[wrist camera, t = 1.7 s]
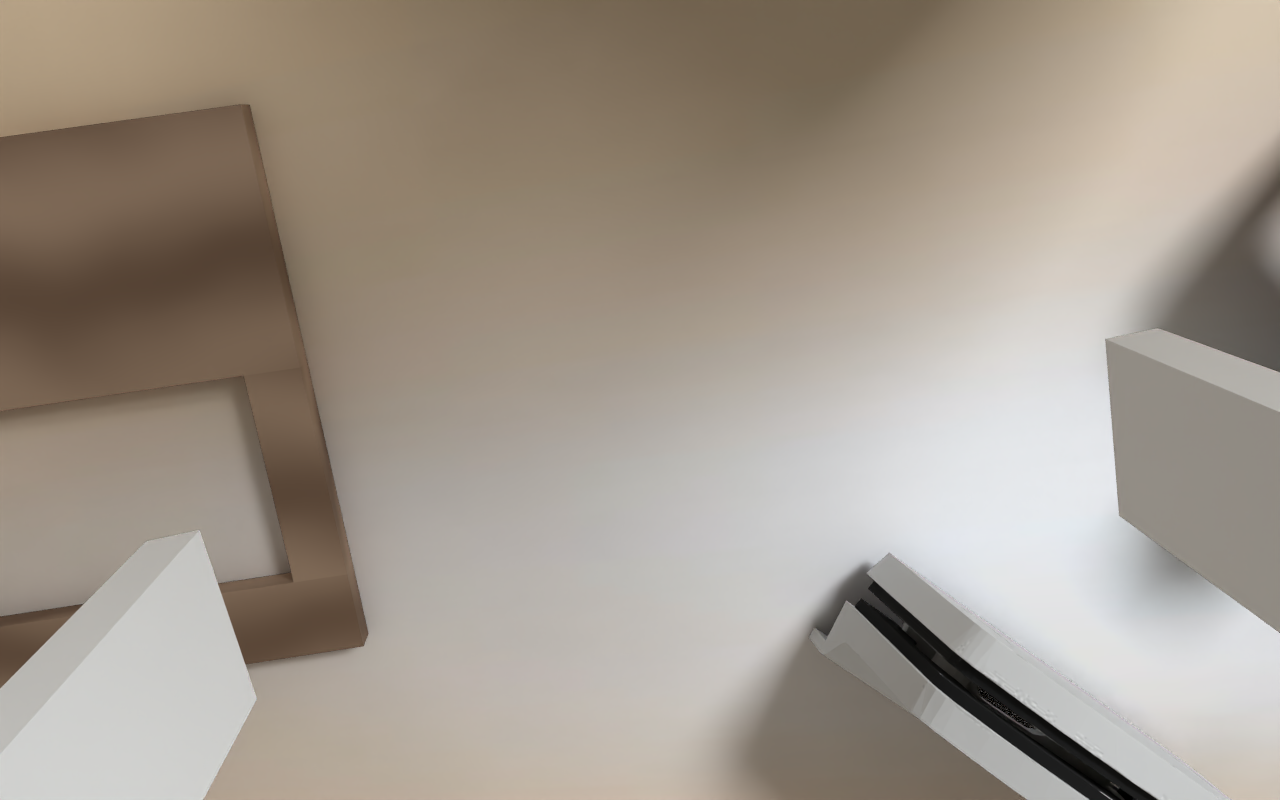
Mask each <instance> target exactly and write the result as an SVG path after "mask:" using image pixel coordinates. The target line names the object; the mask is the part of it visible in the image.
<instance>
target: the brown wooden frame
mask: <svg viewBox="0 0 1280 800" xmlns="http://www.w3.org/2000/svg"><path fill="white" fill-rule="evenodd" d="M238 376H244V380H245V384H246V388H247V392H248V396H249V400H250V404H251V409H252V413H253V417H254V421H255V425H256V429H257V433H258V437H259V442H260V446H261V450H262V454H263V458H264V462H265V466H266V470H267V475H268V479H269V483H270V487H271V491H272V495H273V499H274V503H275V508H276V512H277V516H278V520H279V524H280V528H281V532H282V536H283V541H284V545H285V549H286V553H287V557H288V561H289V565H290V569H291V573H286V574H279V575H272V576H266V577H259V578H253V579H246V580H239V581H233V582H226V583H220V584H218V586H219V589H220V592H221V594H222V597H223V600H224V603H225V606H226V609H227V612H228V615H229V618H230V621H231V624H232V627H233V630H234V633H235V636H236V639H237V641H238V644H239V647H240V650H241V653H242V656H243V659H244V662H245V664H251V663H258V662H264V661H271V660H277V659H284V658H290V657H297V656H303V655H310V654H316V653H322V652H329V651H335V650H342V649H348V648H355V647H361V646H364V644H365V641H366V639H367V636H368V630H367V626H366V621H365V617H364V612H363V608H362V603H361V599H360V594H359V590H358V586H357V581H356V577H355V572H354V568H353V563H352V559H351V554H350V550H349V545H348V541H347V537H346V532H345V528H344V523H343V519H342V514H341V510H340V505H339V501H338V497H337V492H336V488H335V483H334V479H333V474H332V470H331V465H330V461H329V457H328V452H327V448H326V443H325V439H324V434H323V430H322V425H321V421H320V416H319V412H318V408H317V403H316V399H315V394H314V390H313V385H312V381H311V376H310V372H309V368H308V363H307V359H306V354H305V350H304V345H303V341H302V336H301V332H300V327H299V323H298V319H297V314H296V310H295V305H294V301H293V296H292V292H291V287H290V283H289V279H288V274H287V270H286V265H285V261H284V256H283V252H282V247H281V243H280V238H279V234H278V230H277V225H276V221H275V216H274V212H273V207H272V203H271V198H270V194H269V190H268V185H267V181H266V176H265V172H264V167H263V163H262V158H261V154H260V149H259V145H258V141H257V136H256V132H255V127H254V123H253V118H252V114H251V109H250V105H233V106H226V107H219V108H211V109H204V110H197V111H189V112H182V113H175V114H168V115H160V116H153V117H146V118H138V119H131V120H124V121H116V122H109V123H102V124H94V125H87V126H80V127H73V128H65V129H58V130H51V131H43V132H36V133H29V134H21V135H14V136H7V137H0V411H5V410H11V409H18V408H25V407H32V406H39V405H46V404H53V403H60V402H66V401H73V400H80V399H87V398H94V397H101V396H108V395H115V394H122V393H128V392H135V391H142V390H149V389H156V388H163V387H170V386H177V385H183V384H190V383H197V382H204V381H211V380H218V379H225V378H232V377H238ZM82 605H83V604H81V605H75V606H68V607H61V608H55V609H48V610H42V611H35V612H29V613H22V614H15V615H9V616H2V617H0V688H1V687H2V686H3V685H4V684H5V683H6V682H7V681H8V680H9V679H10V678H11V677H12V676H13V675H14V674H15V673H16V672H17V671H18V670H19V669H20V668H21V667H22V666H23V665H24V664H25V663H26V662H27V661H28V660H29V659H30V658H31V657H32V656H33V655H34V654H35V653H36V652H37V651H38V650H39V649H40V648H41V647H42V646H43V645H44V644H45V643H46V642H47V641H48V640H49V639H50V638H51V637H52V636H53V635H54V634H55V633H56V632H57V631H58V630H59V629H60V628H61V627H62V626H63V625H64V624H65V623H66V622H67V621H68V620H69V619H70V618H71V617H72V616H73V614H74V613H75V612H76V611H77V610H78V609H79V608H80V607H81V606H82Z"/></svg>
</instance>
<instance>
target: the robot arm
mask: <svg viewBox="0 0 1280 800" xmlns="http://www.w3.org/2000/svg"><path fill="white" fill-rule="evenodd" d="M1105 341H1106V354H1107V366H1108V379H1109V392H1110V405H1111V418H1112V430H1113V443H1114V456H1115V469H1116V482H1117V494H1118V507H1119V516H1120V517H1122V518H1123V519H1124V520H1126V521H1127V522H1129V523H1130V524H1131V525H1133V526H1134V527H1135V528H1137V529H1138V530H1139V531H1141V532H1142V533H1144V534H1145V535H1146V536H1148V537H1149V538H1150V539H1152V540H1153V541H1155V542H1156V543H1157V544H1159V545H1160V546H1161V547H1163V548H1164V549H1165V550H1167V551H1168V552H1170V553H1171V554H1172V555H1174V556H1175V557H1176V558H1178V559H1179V560H1181V561H1182V562H1183V563H1185V564H1186V565H1187V566H1189V567H1190V568H1192V569H1193V570H1194V571H1196V572H1197V573H1198V574H1200V575H1201V576H1202V577H1204V578H1205V579H1207V580H1208V581H1209V582H1211V583H1212V584H1213V585H1215V586H1216V587H1218V588H1219V589H1220V590H1222V591H1223V592H1224V593H1226V594H1227V595H1229V596H1230V597H1231V598H1233V599H1234V600H1235V601H1237V602H1238V603H1239V604H1241V605H1242V606H1244V607H1245V608H1246V609H1248V610H1249V611H1250V612H1252V613H1253V614H1255V615H1256V616H1257V617H1259V618H1260V619H1261V620H1263V621H1264V622H1266V623H1267V624H1268V625H1270V626H1271V627H1272V628H1274V629H1275V630H1276V631H1278V632H1279V633H1280V372H1277V371H1275V370H1272V369H1269V368H1266V367H1264V366H1261V365H1258V364H1255V363H1253V362H1250V361H1247V360H1244V359H1242V358H1239V357H1236V356H1233V355H1231V354H1228V353H1225V352H1222V351H1220V350H1217V349H1214V348H1211V347H1209V346H1206V345H1203V344H1200V343H1198V342H1195V341H1192V340H1189V339H1187V338H1184V337H1181V336H1178V335H1176V334H1173V333H1170V332H1167V331H1165V330H1162V329H1159V328H1155V329H1150V330H1146V331H1141V332H1136V333H1131V334H1127V335H1122V336H1117V337H1112V338H1108V339H1105ZM256 700H257V697H256V694H255V691H254V688H253V686H252V683H251V680H250V677H249V674H248V671H247V668H246V665H245V662H244V659H243V656H242V653H241V650H240V647H239V644H238V641H237V639H236V636H235V633H234V630H233V627H232V624H231V621H230V618H229V615H228V612H227V609H226V606H225V603H224V600H223V597H222V594H221V592H220V589H219V586H218V583H217V580H216V577H215V574H214V571H213V568H212V565H211V562H210V559H209V556H208V553H207V550H206V547H205V545H204V542H203V539H202V536H201V533H200V530H196V531H192V532H187V533H182V534H177V535H173V536H168V537H163V538H158V539H154V540H149V541H146V542H145V543H144V544H143V545H142V546H141V547H140V548H139V549H138V550H137V551H136V552H135V553H134V554H133V555H132V556H131V557H130V558H129V559H128V560H127V561H126V562H125V563H124V564H123V565H122V566H121V567H120V568H119V569H118V570H117V571H116V572H115V573H114V574H113V575H112V576H111V577H110V578H109V579H108V580H107V581H106V582H105V583H104V584H103V585H102V586H101V587H100V588H99V589H98V590H97V591H96V592H95V593H94V594H93V595H92V596H91V597H90V598H89V599H88V600H87V601H86V602H85V603H84V604H83V605H82V606H81V607H80V608H79V609H78V610H77V611H76V612H75V613H74V614H73V616H72V617H71V618H70V619H69V620H68V621H67V622H66V623H65V624H64V625H63V626H62V627H61V628H60V629H59V630H58V631H57V632H56V633H55V634H54V635H53V636H52V637H51V638H50V639H49V640H48V641H47V642H46V643H45V644H44V645H43V646H42V647H41V648H40V649H39V650H38V651H37V652H36V653H35V654H34V655H33V656H32V657H31V658H30V659H29V660H28V661H27V662H26V663H25V664H24V665H23V666H22V667H21V668H20V669H19V670H18V671H17V672H16V673H15V674H14V675H13V676H12V677H11V678H10V679H9V680H8V681H7V682H6V683H5V684H4V685H3V686H2V687H1V688H0V800H203V799H204V797H205V796H206V794H207V792H208V790H209V788H210V786H211V784H212V782H213V781H214V779H215V777H216V775H217V773H218V771H219V769H220V767H221V766H222V764H223V762H224V760H225V758H226V756H227V754H228V752H229V751H230V749H231V747H232V745H233V743H234V741H235V739H236V737H237V736H238V734H239V732H240V730H241V728H242V726H243V724H244V722H245V721H246V719H247V717H248V715H249V713H250V711H251V709H252V707H253V706H254V704H255V702H256Z"/></svg>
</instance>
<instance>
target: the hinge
mask: <svg viewBox="0 0 1280 800" xmlns="http://www.w3.org/2000/svg"><path fill="white" fill-rule="evenodd" d="M867 575H869V576H870V577H871V578H872V579H873V580H874V581H873V583H872V584H871V586H870V587H869V588H868V589H869V590H870V591H871V592H872V593H873V594H874V595H876V596H877V597H878V598H879V599H880V600H881V601H882V602H883V603H884V604H885V605H886V606H887V607H889V608H890V609H891V610H892V611H893V612H894V613H895V614H896V615H897V616H898V617H899V618H901V619H902V620H903V621H904V624H903V627H902V628H901V627H899V626H898V625H897V624H896V623H895V622H894V621H893V620H892V619H890V618H889V617H887V616H886V615H884V614H883V613H882V612H880V611H879V610H877V609H876V608H874V607H873V606H872V605H870V604H869V603H867V602H866V601H864V600H863V599H860V600H859V602H858V603H857V604H856V606H854V605H852V604H851V603H849V602H848V601H846V602H845V604H844V606H843V608H842V610H841V611H840V613H839V615H838V617H837V619H836V621H835V623H834V625H833V627H832V629H831V631H830V633H829V635H828V636H827V635H825V634H824V633H822V632H821V631H819V630H818V629H817V628H815V627H814V629H813V631H812V632H811V634H810V636H809V639H810V640H811V641H812V642H813V644H814V645H815V646H816V648H817V649H818V650H819V652H820V653H821V654H822V655H824V656H825V657H827V658H828V659H830V660H831V661H833V662H834V663H836V664H837V665H839V666H840V667H842V668H843V669H845V670H846V671H848V672H849V673H851V674H852V675H854V676H855V677H857V678H858V679H860V680H861V681H863V682H864V683H866V684H867V685H869V686H870V687H872V688H873V689H875V690H876V691H878V692H879V693H881V694H882V695H884V696H885V697H887V698H888V699H890V700H891V701H893V702H894V703H896V704H897V705H899V706H900V707H902V708H903V709H905V710H906V711H908V712H909V713H911V714H912V715H913V716H915V717H916V718H918V719H919V720H921V721H922V722H923V723H925V724H926V725H927V726H928V727H929V728H931V729H932V730H933V731H934V732H936V733H937V734H938V735H940V736H941V737H942V738H944V739H945V740H946V741H948V742H949V743H950V744H952V745H953V746H954V747H956V748H957V749H959V750H960V751H961V752H963V753H964V754H965V755H967V756H968V757H969V758H971V759H972V760H973V761H975V762H976V763H977V764H979V765H980V766H981V767H983V768H984V769H985V770H987V771H988V772H990V773H991V774H992V775H994V776H995V777H996V778H998V779H999V780H1000V781H1002V782H1003V783H1005V784H1006V785H1007V786H1009V787H1010V788H1011V789H1013V790H1014V791H1016V792H1017V793H1018V794H1020V795H1021V796H1023V797H1024V798H1025V799H1027V800H1231V799H1230V798H1229V797H1228V796H1226V795H1225V794H1224V793H1223V792H1221V791H1220V790H1219V789H1218V788H1216V787H1215V786H1214V785H1213V784H1211V783H1210V782H1209V781H1208V780H1206V779H1205V778H1204V777H1203V776H1201V775H1200V774H1199V773H1198V772H1196V771H1195V770H1194V769H1193V768H1191V767H1190V766H1189V765H1188V764H1186V763H1185V762H1184V761H1183V760H1181V759H1180V758H1179V757H1177V756H1176V755H1174V754H1173V753H1172V752H1170V751H1169V750H1167V749H1166V748H1165V747H1163V746H1162V745H1160V744H1159V743H1158V742H1156V741H1155V740H1153V739H1152V738H1150V737H1149V736H1148V735H1146V734H1145V733H1143V732H1142V731H1141V730H1139V729H1138V728H1136V727H1135V726H1133V725H1132V724H1131V723H1129V722H1128V721H1126V720H1125V719H1124V718H1122V717H1121V716H1119V715H1118V714H1117V713H1115V712H1114V711H1112V710H1111V709H1109V708H1108V707H1107V706H1105V705H1104V704H1102V703H1101V702H1100V701H1098V700H1097V699H1095V698H1094V697H1093V696H1091V695H1090V694H1088V693H1087V692H1085V691H1084V690H1083V689H1081V688H1080V687H1078V686H1077V685H1076V684H1074V683H1073V682H1071V681H1070V680H1069V679H1067V678H1066V677H1064V676H1063V675H1061V674H1060V673H1059V672H1057V671H1056V670H1054V669H1053V668H1052V667H1050V666H1049V665H1047V664H1046V663H1044V662H1043V661H1042V660H1040V659H1039V658H1037V657H1036V656H1035V655H1033V654H1032V653H1030V652H1029V651H1028V650H1026V649H1025V648H1023V647H1022V646H1020V645H1019V644H1018V643H1016V642H1015V641H1013V640H1012V639H1011V638H1009V637H1008V636H1006V635H1005V634H1004V633H1002V632H1001V631H999V630H998V629H996V628H995V627H994V626H992V625H991V624H989V623H988V622H987V621H985V620H984V619H982V618H981V617H979V616H978V615H977V614H975V613H974V612H972V611H971V610H970V609H968V608H967V607H965V606H964V605H963V604H961V603H960V602H958V601H957V600H955V599H954V598H953V597H951V596H950V595H948V594H947V593H946V592H944V591H943V590H941V589H940V588H939V587H937V586H936V585H934V584H933V583H931V582H930V581H929V580H927V579H926V578H924V577H923V576H922V575H920V574H919V573H917V572H916V571H915V570H913V569H912V568H910V567H909V566H907V565H906V564H905V563H903V562H902V561H900V560H899V559H898V558H896V557H895V556H893V555H892V554H890V553H888V554H887V555H886V556H885V557H884V558H883V559H882V560H881V561H879V562H878V563H877V564H876V565H875V566H874V567H873V568H872V569H870V570H869V571H868V572H867ZM978 686H979V687H980V688H982V689H983V690H984V691H986V692H987V693H988V694H990V695H991V696H992V697H994V698H995V699H996V700H998V701H999V702H1001V703H1002V704H1003V705H1005V706H1006V707H1007V708H1009V709H1010V710H1011V711H1013V712H1014V713H1015V714H1017V715H1018V716H1020V717H1021V718H1022V719H1024V720H1025V721H1026V722H1028V723H1029V724H1031V725H1032V726H1033V727H1035V728H1036V729H1030V728H1026V727H1025V726H1023V725H1022V724H1020V723H1019V722H1017V721H1016V720H1014V719H1013V718H1011V717H1010V716H1008V715H1007V714H1005V713H1004V712H1002V711H1001V710H999V709H998V708H996V707H995V706H993V705H992V704H990V703H989V702H988V701H986V700H985V699H984V698H982V697H981V696H980V695H979V692H978ZM1111 782H1112V783H1111ZM1114 784H1115V785H1116V786H1115V785H1114ZM1117 786H1118V787H1119V788H1118V787H1117Z"/></svg>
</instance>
